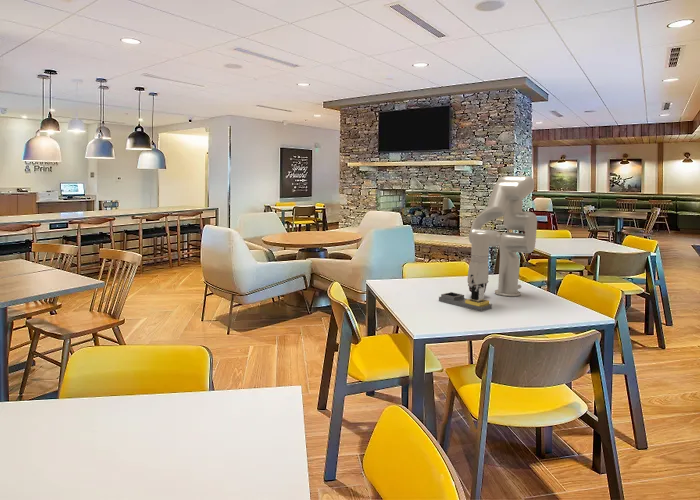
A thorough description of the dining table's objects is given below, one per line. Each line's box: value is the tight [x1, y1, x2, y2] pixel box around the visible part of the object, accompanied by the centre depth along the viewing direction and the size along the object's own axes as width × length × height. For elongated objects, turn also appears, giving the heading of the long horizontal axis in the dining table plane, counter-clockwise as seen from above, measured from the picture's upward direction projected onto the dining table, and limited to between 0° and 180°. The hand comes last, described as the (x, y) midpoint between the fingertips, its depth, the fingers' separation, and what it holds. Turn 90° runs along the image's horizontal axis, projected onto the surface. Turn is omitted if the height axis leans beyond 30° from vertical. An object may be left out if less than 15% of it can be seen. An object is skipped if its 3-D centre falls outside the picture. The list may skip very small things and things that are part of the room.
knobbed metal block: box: [470, 285, 485, 303], centre depth 224 cm, size 4×4×8 cm
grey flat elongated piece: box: [438, 291, 493, 312], centre depth 230 cm, size 8×24×4 cm, turn 40°
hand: (477, 298), depth 224 cm, fingers closed on knobbed metal block, 4 cm apart
